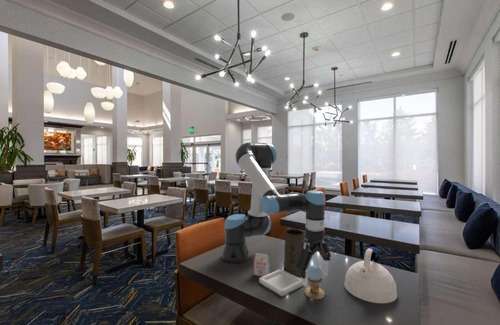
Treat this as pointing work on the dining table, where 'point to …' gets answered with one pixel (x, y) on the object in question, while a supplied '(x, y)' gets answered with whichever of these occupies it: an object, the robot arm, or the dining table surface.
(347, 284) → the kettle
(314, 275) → the ball
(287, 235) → the beer stein
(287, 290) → the tray
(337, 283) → the dining table surface
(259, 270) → the white cardboard box
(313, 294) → the stand
